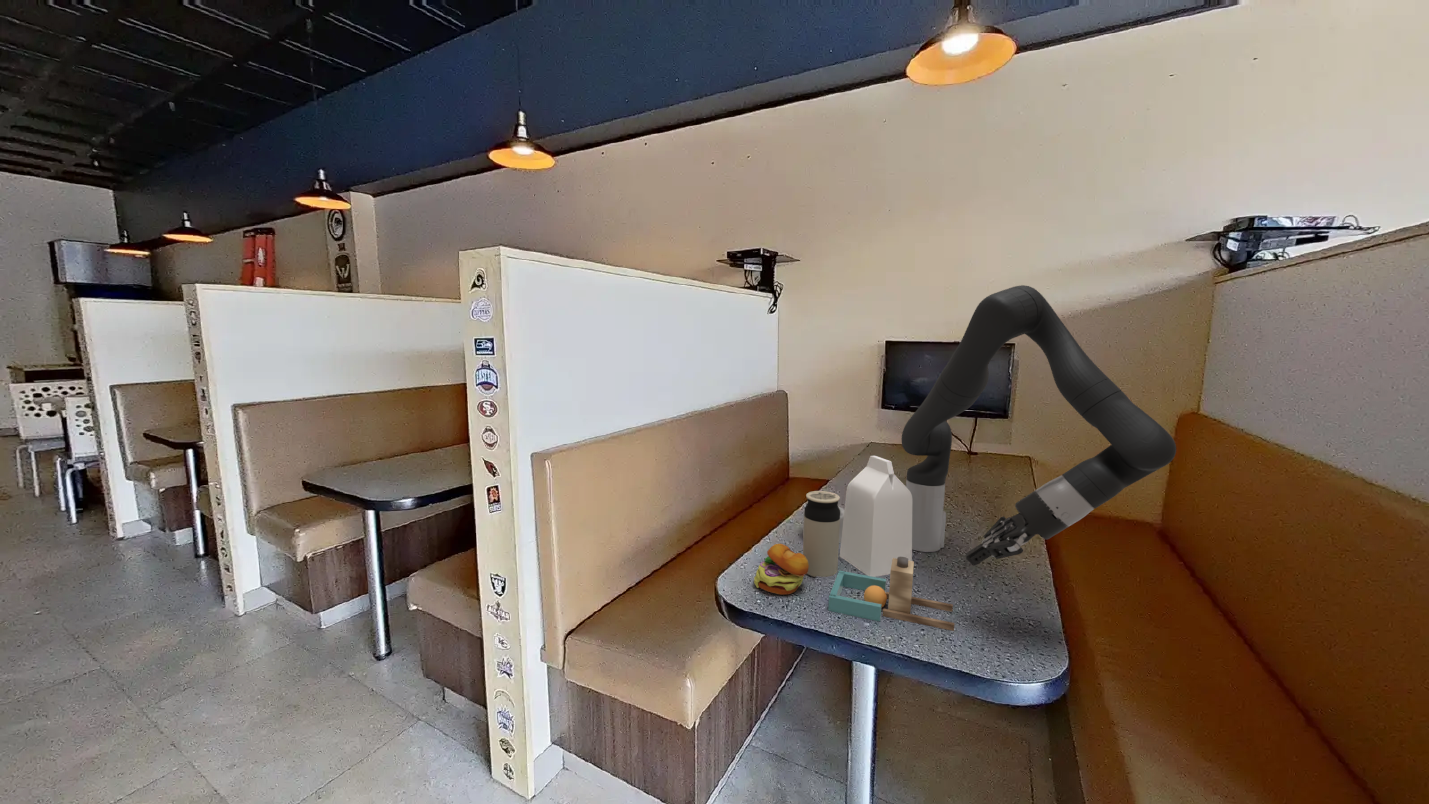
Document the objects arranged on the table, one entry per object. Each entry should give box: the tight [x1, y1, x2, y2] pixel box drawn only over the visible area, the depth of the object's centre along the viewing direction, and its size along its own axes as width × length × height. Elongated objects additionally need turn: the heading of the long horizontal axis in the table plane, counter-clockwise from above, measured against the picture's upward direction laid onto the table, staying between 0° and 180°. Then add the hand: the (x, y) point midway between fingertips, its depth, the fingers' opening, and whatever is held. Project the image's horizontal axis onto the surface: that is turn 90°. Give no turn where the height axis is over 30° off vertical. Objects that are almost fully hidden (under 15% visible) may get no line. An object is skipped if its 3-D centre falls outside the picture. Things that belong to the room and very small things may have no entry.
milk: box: [839, 455, 913, 578], centre depth 121 cm, size 12×12×26 cm
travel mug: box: [802, 490, 841, 578], centre depth 118 cm, size 8×8×18 cm
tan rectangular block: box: [887, 557, 915, 614], centre depth 101 cm, size 4×6×10 cm, turn 158°
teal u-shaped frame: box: [827, 570, 887, 622], centre depth 105 cm, size 10×12×4 cm
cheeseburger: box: [753, 543, 809, 595], centre depth 112 cm, size 10×11×10 cm
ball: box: [863, 585, 888, 609], centre depth 104 cm, size 4×4×4 cm
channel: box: [882, 591, 955, 632], centre depth 101 cm, size 12×8×1 cm, turn 68°
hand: (969, 560), depth 96 cm, fingers closed
